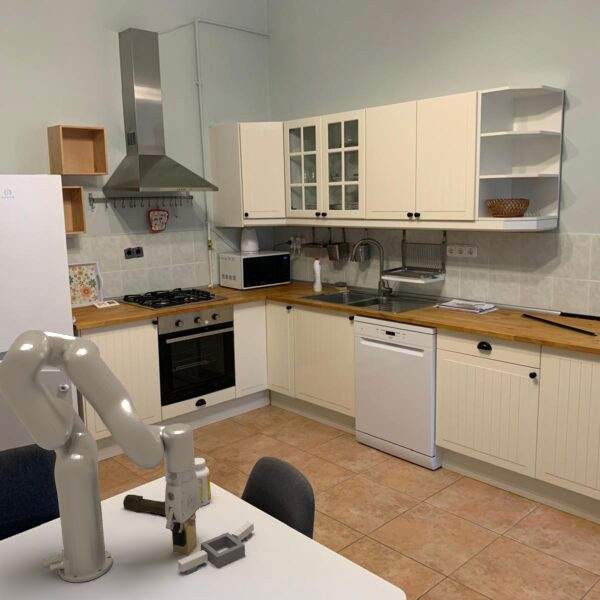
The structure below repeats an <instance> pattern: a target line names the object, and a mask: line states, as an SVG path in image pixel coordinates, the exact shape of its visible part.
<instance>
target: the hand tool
mask: <svg viewBox="0 0 600 600" xmlns="http://www.w3.org/2000/svg"><path fill="white" fill-rule="evenodd" d="M122 505H123V508H124V509H125V508H126V509H125V510H128V511H131V512H134V511H135V513H140V512H146V513H150V514H152V513H153V514H159V515H164V516H166V513H165V500H164V501H162V500H161V501H160V500H154V499H148V498H144V496H143V495H137V494H126V495H125V497H124V498H123V502H122Z"/></svg>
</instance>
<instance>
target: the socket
mask: <svg viewBox="0 0 600 600" xmlns="http://www.w3.org/2000/svg"><path fill="white" fill-rule="evenodd" d="M254 527H255V526H254V522H250V521H246V522H244V524H242V525H241V526H240V527H239V528H237V529H235V531H233V532H232V533H229V532H225V533H222V534H220V535H218V536H215V537H212V538H211V539H208V540H206V541H203V542H201V543H200V551H197V552H196V553H192V554H191V555H190V554H189V555H187V556H186V557H183V558H181V559H178V560H177V566H178V567H177V568H178V570H179V571H181V573H183V572H184V573H185V574H186V575H190V574H193V573H194V572H197V571H198V566H200V565H202V564H204V563H207V562H210V564H212V565H213V566H214V567H215V568H217V569H220V568H222V567H224V566H227V565H228V564H231V563H233V562H235V561H237V560H240V559H242V558H244V557H246V545H245V544H244V543H242V540H243V541H246V542H247V541H248V540H249V539H251V538H252V537H253V532H254V531H255V530H254V529H255V528H254ZM224 548H228V549H225V550H223V551H220V550H221V549H224ZM218 551H220V552H218Z"/></svg>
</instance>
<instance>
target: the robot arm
mask: <svg viewBox="0 0 600 600" xmlns="http://www.w3.org/2000/svg"><path fill="white" fill-rule="evenodd" d="M100 353H101V352H100V349H99V347H98V345H97V344H96V343H95V342H94V341H92V340H91V339H88V338H85V337H79V336H75V335H74V336H73V335H68V334H63V333H57V332H52V331H48V330H47V331H46V330H42V329H31V330H26V331H23V332H21V334H19V335H18V336H17V337H16V339H14V341H13V343H12V344H11V346H10V347H9V348H8V350H7V352H6V353H5V354H4V357H3V358H2V360H1V362H0V392H1V395H2V397H3V398H4V400H6V403H8V405H9V406H10V408H11V410H12V411H13V412H14V414H15V416H16V417H17V418H18V420H19V421H20V422H21V424H22V425H23V427H24V428H25V430H26V431H27V432H28V434H29V435H30V437H31V438H32V440H33V441H34V443H35V444H36V445H37V446H39V447H40V448H42V449H44V450H47V451H54V452H55V453H56V457H55V463H54V464H55V465H54V482H55V487H56V492H57V499H58V510H59V518H60V526H61V527H60V528H61V537H62V540H61V541H62V548H63V549H61V554H58V555H57V556H55V557H49V558H45V559H44V568H45V569H47V568H49V569H50V571H51V572H52V571H56V570H58V575H59V577H60V578H61V579H62V580H64V581H67V582H70V583H71V582H72V583H82V582H87V581H92V580H94V579H98V578H99V577H101V576H103V575H104V574H106V573H107V572H108V571H109V570H110V569H111V568H112V565H113V563H114V562H113V560H114V559H113V554H111V553H110V552H109V551H108V550H106V545H105V534H104V533H105V532H104V523H103V512H102V511H103V510H102V503H101V502H102V501H101V491H100V480H99V466H98V465H99V464H98V463H99V460H98V459H99V453H98V452H99V449H98V444H97V441H96V439H95V438H94V435H93V434H92V432H90V430H89V428H88V427H87V425H86V424H85V422H84V421H83V420H82V418H81V417H80V415H79V414H78V411H76V410H75V408H74V407H73V406H72V405H71V404H70V403H69V402H68V401H66V400H65V399H62V398H59V397H58V398H57V397H53V396H52V395H51V393H50V391H49V389H48V388H47V387H46V386H45V385H44V383H43V382H42V380H40V373H41V371H42V370H43V368H44V367H45V366H46V367H52V368H58V369H62V372H64V374H65V376H66V377H67V378H68V379H69V380H70V382H71V383H72V385H74V387H75V388H76V389H77V391H79V393H80V394H81V395H82V397H83V398H84V399H85V400H86V401H87V402H88V403H89V405H90V406H91V408H93V410H94V411H95V413H96V414H97V415H98V417H99V418H100V420H101V422H102V424H104V426H105V427H106V429H107V431H108V432H109V433H110V435H111V436H112V438H113V440H114V441H115V442H116V444H117V445H118V447H119V448H120V449H121V450H122V452H123V453H124V454H125V455H126V456H127V457H128V459H129V460H130V461H131V463H133V464H134V465H135V466H137V467H138V468H139V469H144V470H152V469H155V468H157V467H158V466H159V465H160V464H161V463H162V462H163V463H164V464H163V465H164V477H165V479H164V480H165V489H164V494H165V495H164V501H165V513H166V515H165V518H166V522H165V523H166V524H165V529H167V530H169V531H170V532H171V534H172V533H173V541H172V545H173V544H174V545H177V546H182V547H184V546H185V534H184V531H183V523H184V522H186V521H187V520H188V519H189V518H190V517H191V516H192V515H193V514H195V520H196V519H197V516H196V513H197V512H198V510H200V508H201V507H202V506H201V498H200V489H199V482H198V478H197V475H196V473H195V458H196V457H195V442H194V429H193V428H192V426H191V425H189V424H187V423H180V422H179V423H172V424H170V425H153V424H148V425H147V424H145V423H144V421H143V420H142V419H141V417H140V415H139V414H138V412H137V410H136V408H135V406H134V403H133V400H132V397H131V395H130V394H129V391H128V390H127V389H126V387H125V386H124V385H123V383H122V382H121V381H120V380H119V379H118V377H117V376H116V375H115V374H114V372H113V371H112V370H111V369H110V367H109V365H107V364H106V362H105V361H104V359H103V358H102V357H101V354H100ZM176 522H177V523H179V527H178V526H177V525H175V523H176Z"/></svg>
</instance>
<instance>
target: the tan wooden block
mask: <svg viewBox="0 0 600 600" xmlns="http://www.w3.org/2000/svg"><path fill="white" fill-rule="evenodd" d="M195 515H196V513H195V514H193V515H192V516H191V517H190V518H189V519H188V520H187V521H186V522H184V523H183V531H184V534H185V546H184V547H182V546H177V545H174V544H173V543H172V553H175V554H180V555H185V556H190V554H192V552H193V551H194V550H195V549H196V548H197V547H198V540H197V523H196V522H197V521H196V519H195ZM175 525H177V526H178V527H179V523H177V522H176V523H175ZM171 538H172V539H171V540H172V542H173V533H172V532H171Z"/></svg>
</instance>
